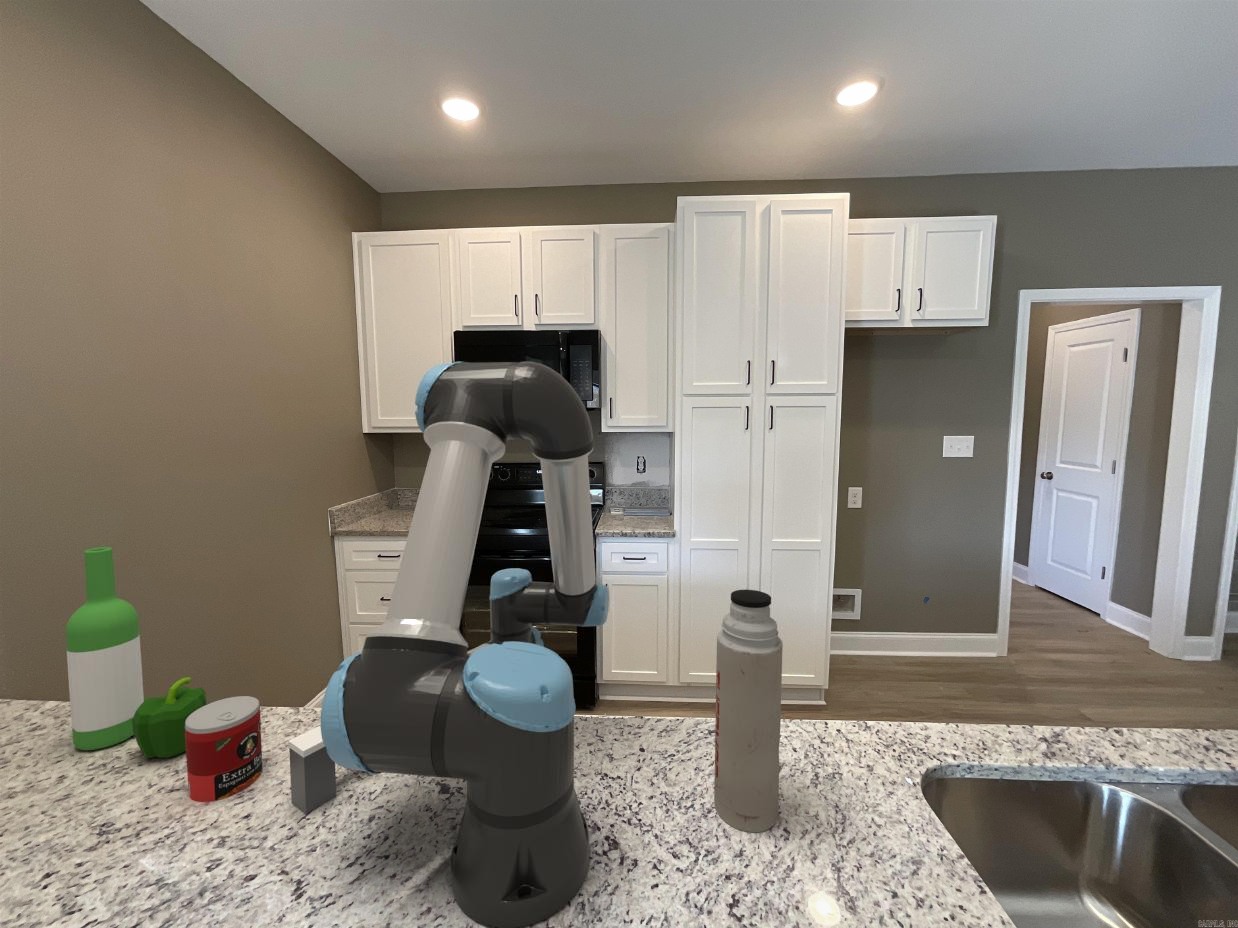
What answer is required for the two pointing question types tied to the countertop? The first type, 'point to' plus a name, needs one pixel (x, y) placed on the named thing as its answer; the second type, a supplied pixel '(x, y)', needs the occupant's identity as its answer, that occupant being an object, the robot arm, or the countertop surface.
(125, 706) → the wine bottle
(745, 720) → the thermos bottle
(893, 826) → the countertop surface
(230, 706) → the canned food
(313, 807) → the toggle
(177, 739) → the bell pepper
